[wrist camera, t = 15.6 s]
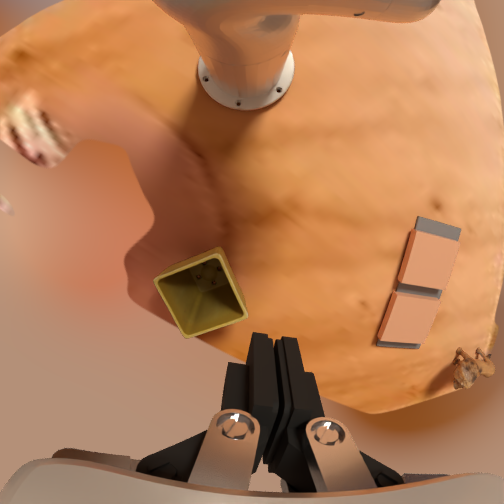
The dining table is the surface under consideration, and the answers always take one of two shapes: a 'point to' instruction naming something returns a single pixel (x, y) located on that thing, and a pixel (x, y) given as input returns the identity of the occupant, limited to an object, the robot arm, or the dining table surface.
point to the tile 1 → (408, 318)
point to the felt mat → (439, 230)
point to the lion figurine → (471, 369)
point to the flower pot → (202, 293)
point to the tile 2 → (428, 260)
